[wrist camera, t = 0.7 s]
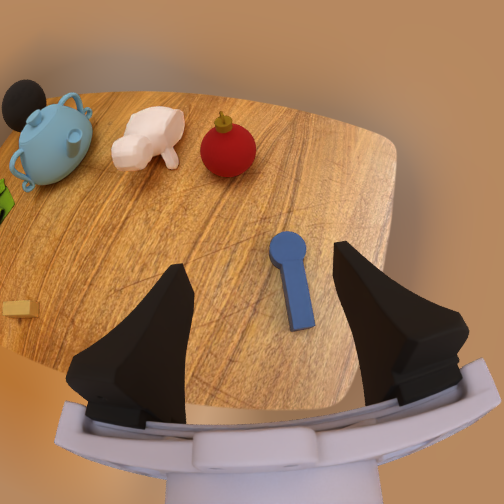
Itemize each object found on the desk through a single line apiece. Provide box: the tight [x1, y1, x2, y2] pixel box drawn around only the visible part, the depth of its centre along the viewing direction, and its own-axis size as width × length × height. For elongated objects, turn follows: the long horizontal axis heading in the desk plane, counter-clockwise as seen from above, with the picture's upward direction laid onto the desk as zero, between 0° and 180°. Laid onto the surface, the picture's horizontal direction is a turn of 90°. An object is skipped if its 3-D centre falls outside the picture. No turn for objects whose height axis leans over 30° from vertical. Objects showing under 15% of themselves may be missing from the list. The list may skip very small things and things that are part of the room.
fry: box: [2, 300, 39, 318], centre depth 29 cm, size 8×2×2 cm, turn 98°
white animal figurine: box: [111, 106, 185, 171], centre depth 34 cm, size 9×8×15 cm
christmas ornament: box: [200, 111, 256, 177], centre depth 31 cm, size 7×7×10 cm
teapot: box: [9, 93, 93, 192], centre depth 33 cm, size 20×20×13 cm
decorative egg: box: [2, 80, 46, 132], centre depth 39 cm, size 12×12×15 cm
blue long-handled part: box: [269, 231, 315, 332], centre depth 29 cm, size 11×4×3 cm, turn 8°
